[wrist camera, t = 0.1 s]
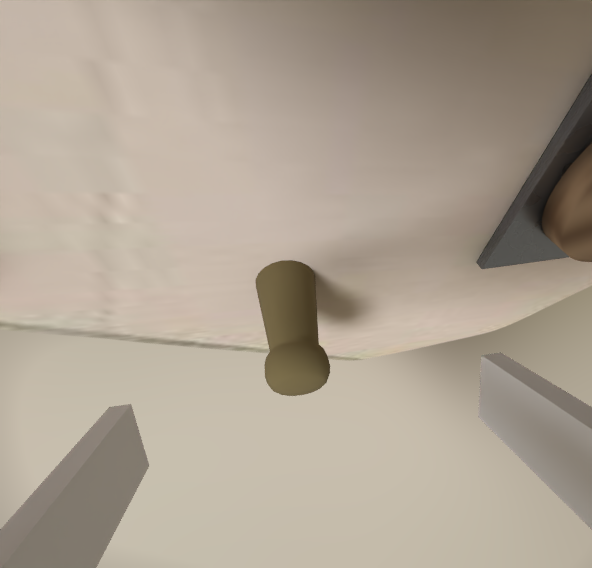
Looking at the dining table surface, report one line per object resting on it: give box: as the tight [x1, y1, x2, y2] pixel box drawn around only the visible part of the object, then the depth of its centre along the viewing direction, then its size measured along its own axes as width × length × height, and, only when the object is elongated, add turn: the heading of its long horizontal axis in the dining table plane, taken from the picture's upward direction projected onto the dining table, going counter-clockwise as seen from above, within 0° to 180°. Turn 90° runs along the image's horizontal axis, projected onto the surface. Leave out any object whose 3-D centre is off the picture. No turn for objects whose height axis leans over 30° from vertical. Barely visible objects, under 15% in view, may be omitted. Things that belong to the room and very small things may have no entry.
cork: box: [256, 261, 330, 396], centre depth 25 cm, size 6×6×11 cm
